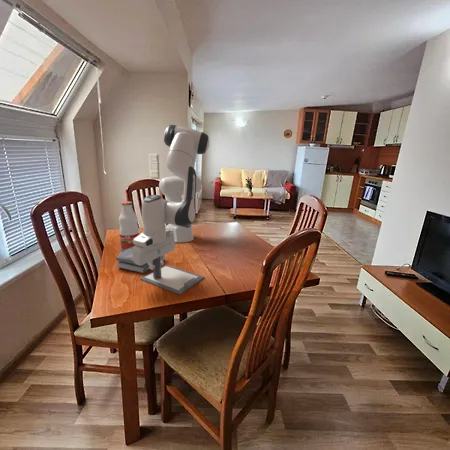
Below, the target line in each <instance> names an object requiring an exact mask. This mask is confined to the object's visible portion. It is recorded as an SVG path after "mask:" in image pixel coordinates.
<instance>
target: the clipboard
mask: <svg viewBox="0 0 450 450" xmlns="http://www.w3.org/2000/svg"><path fill="white" fill-rule="evenodd" d="M203 279H205V276H204V275H203V276H202V275H200V274H196V273H194V272H190V271H187V270H184V269H181V268H178V267H174V266H173V265H168V264H165V265H164V266H163V265H162V266H161V278H158V279H155V278H153V271H152V272H149V273H148V274H146V275H143V276H142V277H140V278H139V281H140V280H141V281H143V282H145V283H148V284H151V285H153V286H156V287H158V288H161V289H164V290H166V291H169V292H172V293H173V294H176V295H182V294H183V293H185V292H187V291H188V290H189V289H190V288H192V287H194V286H195V285H196V284H199V282H200V281H202V280H203Z"/></svg>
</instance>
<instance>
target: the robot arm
mask: <svg viewBox="0 0 450 450" xmlns="http://www.w3.org/2000/svg"><path fill="white" fill-rule="evenodd" d="M163 143H164V145H166V146H167V147H169V149H168V151H167V156H166V167H167V169H168V170H169V172H170V173H172V174H173V176H166V177H162V178H161V179H160V181H159V182H158V183H159V184H158V188H159V191H160V192H161V194H162V195H164V196H165V198H166V199H165V198H163V196H161V195H158V194H151V195H147V196H145V197H144V198H142V202H141V219H142V223H143V225H142V232H141V233H139V235H138V236H137V237H136V238H134V239H133V244H135V246H134V247H133V261H134V263H135V264H137V265H143V264H145V263H148V265H149V268H150V269H149V270H152V271H153V269H155V265H153V264H152V262H153V260H154V259H156V258H158V257H159V256H160V258H161V266H163V265H164V261H165V258H166V255H167V254H169V253H172V252H174V251H175V249H176V244H177V243H180V244H181V243H188V242H192V241H193V240H194V239H195V238H194V233H193V228H192V224H193V222H195V219H196V214H197V213H196V194H197V193H200V191H201V190H202V188H203V182H202V180H201V179H200V177H198V176H197V172H196V169H195V167H196V166H195V165H196V159H197V155H204V154H206V152H207V151H208V149H209V148H210V147H209V146H210V137H209V135H208V134H207V133H205V132H202V131H199V130H196V129H193V128H190V127H185V126H178V125H176V124H169V125H168V126H166V127H165V130H164V132H163ZM167 199H168V200H167ZM165 224H167V225H165ZM159 249H160V254H158V251H157V250H159Z"/></svg>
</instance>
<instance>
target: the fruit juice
mask: <svg viewBox="0 0 450 450" xmlns="http://www.w3.org/2000/svg"><path fill="white" fill-rule="evenodd" d="M138 219H139V218H138V216H137V214H136V213H135V210H134V209H133V202H132V201H121V212H120V215H119V217H118V223H119V230H118V231H119V240H120V249H121V252H123V251H125V250H127V249H129V248H131V247H133V246H135V244H133V239H134V238H136V237H137V236H138V235H140V229H139V225H138V222H139V220H138ZM121 252H120V253H121Z"/></svg>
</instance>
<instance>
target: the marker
mask: <svg viewBox="0 0 450 450" xmlns="http://www.w3.org/2000/svg"><path fill="white" fill-rule="evenodd" d="M157 251H158V254H160V249H159V250H157ZM152 264H153V265H155V269H153V270H152V272H153V278H155V279H158V278H161V267H162V265H161V258H160V256H159V257H158V258H156V259H154V260H153V262H152Z"/></svg>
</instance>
